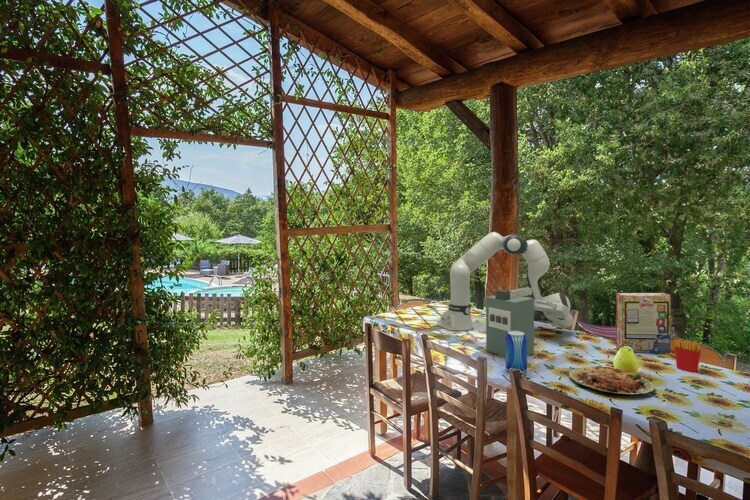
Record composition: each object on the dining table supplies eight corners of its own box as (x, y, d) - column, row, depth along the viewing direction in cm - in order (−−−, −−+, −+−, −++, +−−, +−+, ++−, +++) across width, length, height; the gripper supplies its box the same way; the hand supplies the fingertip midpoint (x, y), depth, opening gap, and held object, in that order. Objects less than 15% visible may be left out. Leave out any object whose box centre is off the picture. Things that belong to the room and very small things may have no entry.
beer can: (528, 375, 153) (529, 336, 152) (506, 374, 155) (506, 335, 153) (525, 367, 161) (525, 330, 160) (504, 366, 163) (504, 329, 162)
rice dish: (568, 367, 163) (567, 355, 163) (646, 374, 151) (646, 361, 151) (569, 394, 138) (569, 380, 138) (663, 405, 126) (663, 389, 126)
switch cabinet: (484, 351, 182) (483, 297, 181) (505, 344, 191) (504, 293, 189) (512, 360, 169) (512, 302, 167) (533, 353, 178) (533, 298, 176)
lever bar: (495, 298, 177) (495, 290, 177) (524, 293, 189) (524, 285, 189) (504, 300, 173) (504, 291, 173) (533, 294, 185) (533, 286, 185)
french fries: (701, 371, 152) (702, 342, 151) (697, 374, 150) (698, 344, 149) (675, 365, 159) (676, 337, 159) (671, 367, 157) (672, 338, 156)
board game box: (663, 349, 179) (664, 292, 177) (670, 354, 173) (672, 295, 171) (615, 348, 182) (616, 292, 180) (621, 352, 176) (622, 294, 174)
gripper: (536, 302, 208) (523, 292, 201) (573, 309, 191) (560, 298, 184) (533, 313, 207) (519, 303, 200) (570, 320, 190) (556, 310, 183)
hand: (539, 301), depth 192 cm, fingers open, 8 cm apart
